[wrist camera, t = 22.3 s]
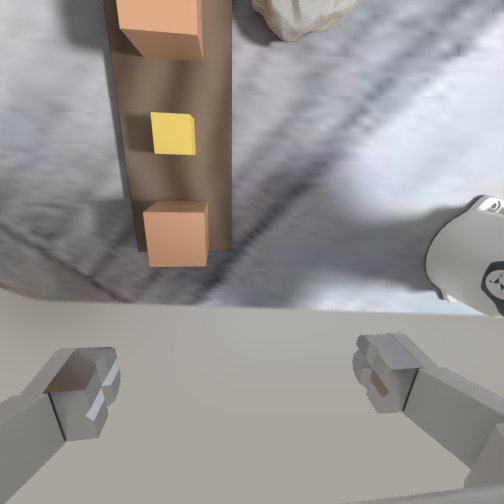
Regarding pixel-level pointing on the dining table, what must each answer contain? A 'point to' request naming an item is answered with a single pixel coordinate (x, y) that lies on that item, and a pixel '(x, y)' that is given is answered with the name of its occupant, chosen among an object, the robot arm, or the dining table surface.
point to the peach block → (163, 27)
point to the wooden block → (177, 233)
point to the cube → (173, 133)
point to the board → (180, 102)
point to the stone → (303, 15)
